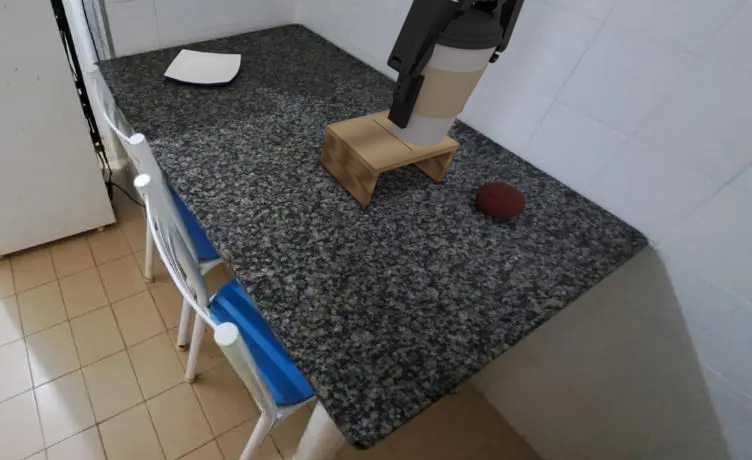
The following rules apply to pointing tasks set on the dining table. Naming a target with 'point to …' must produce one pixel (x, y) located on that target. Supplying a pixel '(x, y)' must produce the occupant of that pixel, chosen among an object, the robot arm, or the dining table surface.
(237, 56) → the plate
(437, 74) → the coffee cup
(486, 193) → the potato
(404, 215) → the dining table surface
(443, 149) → the board
